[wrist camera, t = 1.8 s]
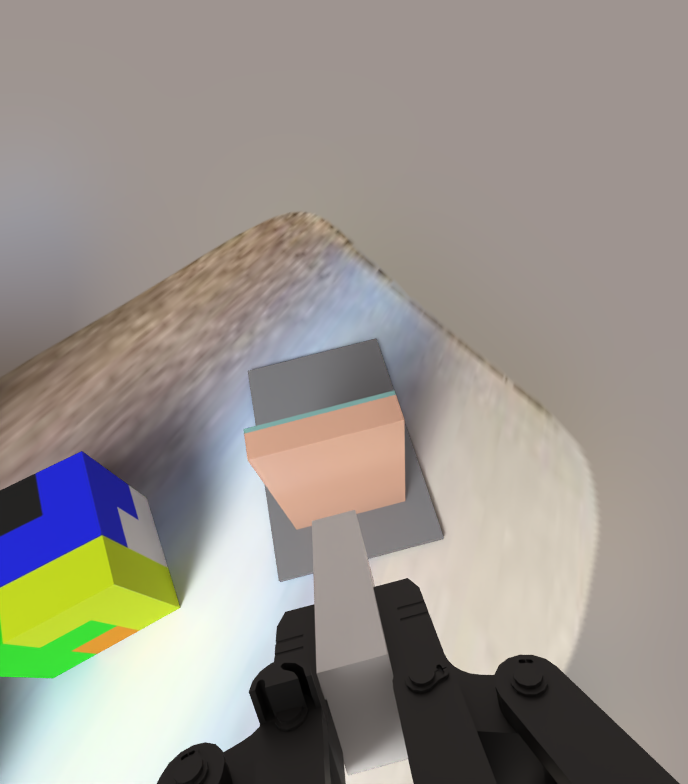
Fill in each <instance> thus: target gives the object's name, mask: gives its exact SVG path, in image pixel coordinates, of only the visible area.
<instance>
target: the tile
mask: <svg viewBox="0 0 688 784" xmlns="http://www.w3.org/2000/svg"><path fill="white" fill-rule="evenodd" d="M244 436H245V443H246V451H247V459H248V461H249V463H250V464H251V466H252V467H253V468H254V470H255V471H256V473H257V474H258V475H259V477H260V478H261V480H262V481H263V483H264V484H265V485H266V487H267V488H268V490H269V491H270V493H271V494H272V495H273V497H274V498H275V500H276V501H277V503H278V504H279V505H280V507H281V508H282V510H283V511H284V512H285V514H286V515H287V517H288V518H289V520H290V521H291V522H292V524H293V525H294V527H295V528H296V530H297V529H301V528H305V527H309V526H312V521H314V520H318V519H322V518H325V517H329V516H333V515H337V514H341V513H345V512H348V511H352V510H355V511H356V514H358V513H362V512H366V511H370V510H374V509H377V508H381V507H385V506H389V505H393V504H396V503H400V502H404V501H405V431H404V417H403V414H402V411H401V408H400V405H399V402H398V399H397V397H396V394H395V391H390V392H386V393H383V394H379V395H375V396H371V397H367V398H363V399H359V400H355V401H351V402H348V403H344V404H340V405H336V406H332V407H328V408H324V409H320V410H316V411H312V412H309V413H305V414H301V415H297V416H293V417H289V418H285V419H281V420H277V421H273V422H270V423H266V424H262V425H258V426H254V427H250V428H246V429H244Z"/></svg>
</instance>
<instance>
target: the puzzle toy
mask: <svg viewBox="0 0 688 784" xmlns="http://www.w3.org/2000/svg"><path fill="white" fill-rule="evenodd" d="M179 608H180V605H179V602H178V599H177V595H176V592H175V589H174V585H173V582H172V579H171V576H170V572H169V569H168V566H167V563H166V559H165V556H164V553H163V550H162V546H161V543H160V540H159V537H158V533H157V530H156V527H155V523H154V520H153V517H152V514H151V510H150V507H149V504H148V501H147V498H146V497H144V496H143V495H142V494H140V493H139V492H138V491H136V490H135V489H133V488H132V487H131V486H129V485H128V484H127V483H125V482H124V481H122V480H121V479H120V478H118V477H117V476H116V475H114V474H113V473H111V472H110V471H109V470H107V469H106V468H105V467H103V466H102V465H100V464H99V463H98V462H96V461H95V460H94V459H92V458H91V457H89V456H88V455H87V454H85V453H84V452H83V451H81V452H79V453H77V454H75V455H73V456H71V457H69V458H67V459H65V460H62V461H60V462H58V463H56V464H54V465H52V466H50V467H48V468H46V469H44V470H42V471H40V472H38V473H36V474H34V475H31V476H29V477H27V478H25V479H23V480H21V481H19V482H17V483H15V484H13V485H11V486H9V487H7V488H5V489H3V490H0V677H29V678H55V677H56V676H58V675H60V674H62V673H64V672H65V671H67V670H69V669H71V668H73V667H74V666H76V665H78V664H80V663H82V662H83V661H85V660H87V659H89V658H91V657H92V656H94V655H96V654H98V653H100V652H101V651H103V650H105V649H107V648H109V647H110V646H112V645H114V644H116V643H118V642H119V641H121V640H123V639H125V638H127V637H128V636H130V635H132V634H134V633H136V632H137V631H139V630H141V629H143V628H145V627H146V626H148V625H150V624H152V623H154V622H155V621H157V620H159V619H161V618H163V617H164V616H166V615H168V614H170V613H172V612H173V611H175V610H177V609H179Z"/></svg>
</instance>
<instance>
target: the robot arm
mask: <svg viewBox="0 0 688 784" xmlns="http://www.w3.org/2000/svg"><path fill="white" fill-rule="evenodd" d="M312 541H313V574H314V605H310V606H306V607H303V608H299V609H295V610H291V611H288V612H285V613H284V615H283V617H282V619H281V621H280V622H279V624H278V626H277V633H276V645H275V658H274V663H271V664H270V665H268V666H267V667H266V668H264V669H263V670H262V671H260V672H259V674H258V675H257V676H256V678H255V679H254V680H253V682H252V684H251V687H250V690H249V694H250V697H251V699H252V702H253V705H254V708H255V711H256V714H257V717H258V719H259V722H260V727H259V728H258V729H257V730H256V731H255V732H254V733H253V734H252V735H251V736H249V737H248V738H246V739H245V740H243V741H242V742H240V743H239V744H237V745H235V746H234V747H232V748H230V749H228V750H227V751H225V752H223V751H222V750H221V749H220V748H219V747H218V746H217V745H216V744H211V743H206V742H205V743H201V744H197V745H193V746H191V747H189V748H188V749H186V750H184V751H182V752H181V753H180V754H179V755H177V756H176V757H175V758H174V759H173V760H172V761H171V762H170V763H169V764H168V766H167V767H166V769H165V770H164V772H163V773H162V775H161V776H160V778H159V780H158V782H157V784H346V783H345V771H344V764H345V768H346V771H347V774H348V775H352V774H355V773H359V772H363V771H366V770H370V769H374V768H377V767H381V766H384V765H388V764H392V763H395V762H399V761H403V760H406V759H408V760H409V764H410V769H411V774H412V778H413V783H414V784H679V783H678V782H677V781H676V780H675V779H674V778H673V777H672V776H671V775H670V774H669V773H668V772H667V771H665V769H664V768H663V767H661V766H660V765H659V764H658V763H657V762H656V761H655V760H654V759H653V758H652V757H651V756H650V755H649V754H648V753H647V752H646V751H645V750H644V749H643V748H641V746H639V745H638V744H637V743H636V742H635V741H634V740H633V739H632V738H631V737H630V736H629V735H628V734H627V733H626V732H625V731H624V730H623V729H622V728H621V727H619V726H618V725H617V724H616V723H615V722H614V721H613V720H612V719H611V718H610V717H609V716H608V715H607V714H606V713H605V712H604V711H603V710H601V708H599V707H598V706H597V705H596V704H595V703H594V702H593V701H592V700H591V699H590V698H589V697H588V696H587V695H586V694H585V693H584V692H583V691H582V690H581V689H580V688H579V687H578V686H576V685H575V684H574V683H573V682H572V681H571V680H570V679H569V678H568V677H567V676H566V675H565V674H564V673H563V672H562V671H561V670H560V669H559V668H558V667H557V666H555V665H554V664H552V663H551V662H549V661H548V660H546V659H544V658H541V657H538V656H534V655H517V656H514V657H511V658H508V659H507V660H505V661H504V662H503V663H501V664H500V665H499V667H498V669H497V671H496V673H495V675H478V674H470V673H467V672H464V671H461V670H460V669H458V668H456V667H454V666H453V665H452V664H451V663H450V662H449V661H448V660H447V658H446V656H445V654H444V652H443V649H442V647H441V644H440V641H439V639H438V636H437V633H436V631H435V628H434V625H433V623H432V620H431V618H430V615H429V613H428V610H427V607H426V604H425V602H424V599H423V596H422V594H421V591H420V588H419V587H418V586H417V585H415V584H414V583H413V582H412V581H411V580H409V579H408V578H406V579H403V580H399V581H395V582H391V583H388V584H384V585H380V586H376V587H375V585H374V581H373V577H372V573H371V569H370V565H369V561H368V557H367V554H366V550H365V546H364V542H363V538H362V534H361V531H360V527H359V523H358V519H357V515H356V511H355V510H352V511H348V512H345V513H341V514H337V515H333V516H329V517H325V518H322V519H318V520H314V521H312Z"/></svg>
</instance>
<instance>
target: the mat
mask: <svg viewBox="0 0 688 784" xmlns="http://www.w3.org/2000/svg"><path fill="white" fill-rule="evenodd" d="M248 376H249V383H250V390H251V396H252V403H253V410H254V416H255V423H256V426H258V425H262V424H266V423H270V422H273V421H277V420H281V419H285V418H289V417H293V416H297V415H301V414H305V413H309V412H312V411H316V410H320V409H324V408H328V407H332V406H336V405H340V404H344V403H348V402H351V401H355V400H359V399H363V398H367V397H371V396H375V395H379V394H383V393H386V392H390V391H394V389H393V386H392V383H391V380H390V377H389V374H388V371H387V368H386V365H385V362H384V359H383V356H382V353H381V350H380V347H379V345H378V342H377V339H372V340H368V341H364V342H360V343H356V344H352V345H348V346H345V347H341V348H337V349H333V350H329V351H325V352H321V353H317V354H313V355H309V356H305V357H301V358H297V359H293V360H289V361H285V362H281V363H278V364H274V365H270V366H266V367H262V368H258V369H254V370H250V371H248ZM404 431H405V501H404V502H400V503H396V504H393V505H389V506H385V507H381V508H377V509H374V510H370V511H366V512H362V513H358V514H356V515H357V519H358V523H359V527H360V531H361V534H362V538H363V542H364V546H365V550H366V554H367V557H368V559H369V558H373V557H377V556H381V555H384V554H388V553H392V552H396V551H399V550H403V549H407V548H411V547H415V546H418V545H422V544H426V543H430V542H433V541H437V540H441V539H443V538H444V537H443V534H442V531H441V528H440V525H439V522H438V519H437V516H436V513H435V510H434V507H433V504H432V501H431V498H430V495H429V492H428V489H427V486H426V483H425V480H424V477H423V475H422V472H421V469H420V466H419V463H418V460H417V457H416V454H415V451H414V448H413V445H412V442H411V439H410V436H409V433H408V430H407V427H406V424H405V421H404ZM265 490H266V497H267V504H268V511H269V517H270V524H271V531H272V537H273V544H274V551H275V558H276V564H277V571H278V578H279V581H280V582H282V581H286V580H290V579H294V578H297V577H301V576H305V575H309V574H313V541H312V526H309V527H305V528H301V529H297V530H296V528H295V527H294V525H293V524H292V522H291V521H290V520H289V518H288V517H287V515H286V514H285V512H284V511H283V510H282V508H281V507H280V505H279V504H278V503H277V501H276V500H275V498H274V497H273V495H272V494H271V493H270V491H269V490H268V488H267V487H266V485H265Z"/></svg>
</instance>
